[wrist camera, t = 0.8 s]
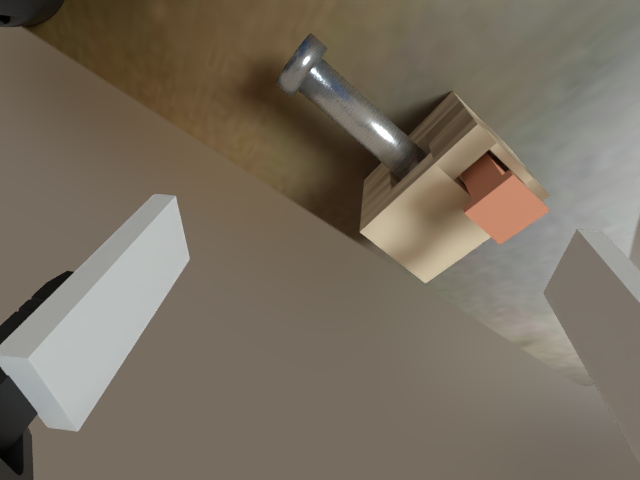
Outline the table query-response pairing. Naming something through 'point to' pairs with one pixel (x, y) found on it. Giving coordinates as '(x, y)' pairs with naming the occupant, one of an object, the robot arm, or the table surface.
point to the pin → (348, 107)
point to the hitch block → (435, 192)
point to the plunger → (499, 199)
